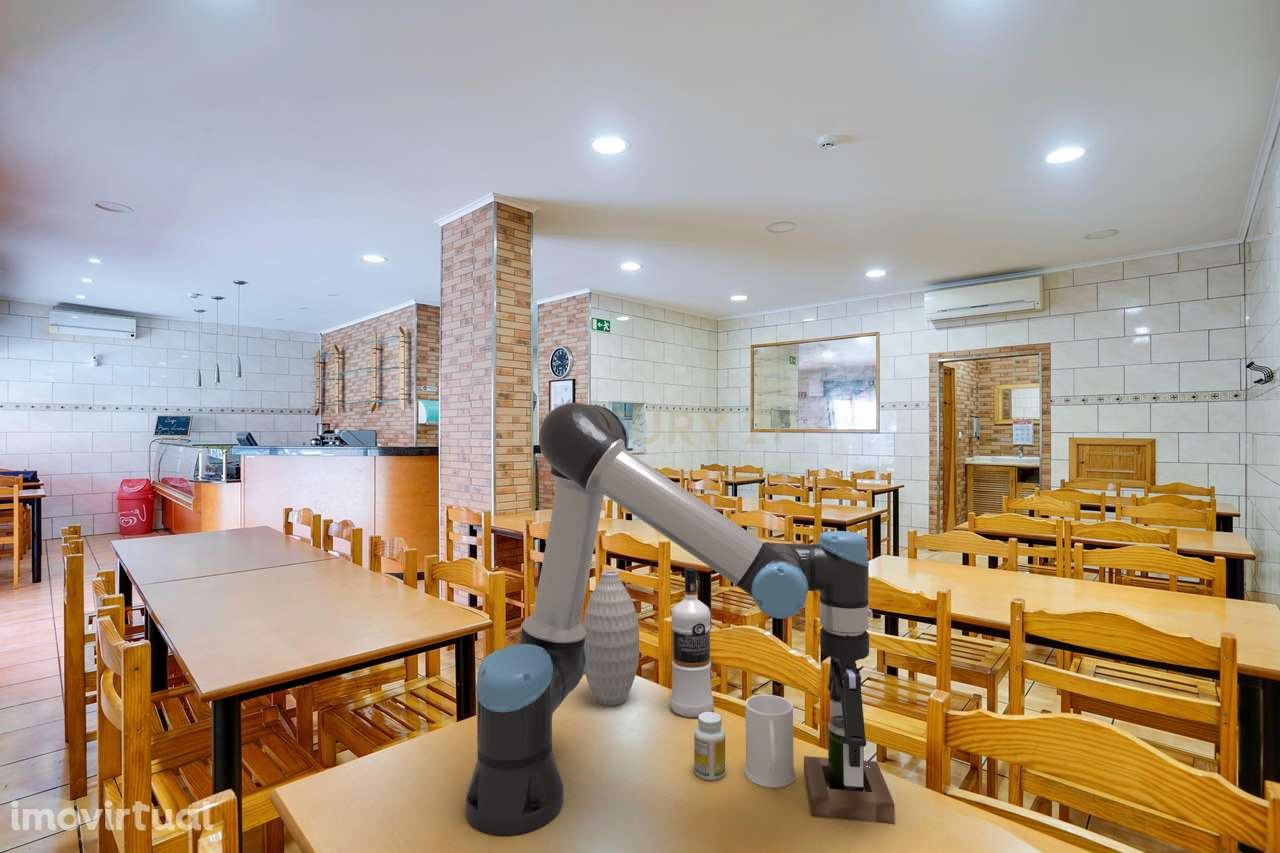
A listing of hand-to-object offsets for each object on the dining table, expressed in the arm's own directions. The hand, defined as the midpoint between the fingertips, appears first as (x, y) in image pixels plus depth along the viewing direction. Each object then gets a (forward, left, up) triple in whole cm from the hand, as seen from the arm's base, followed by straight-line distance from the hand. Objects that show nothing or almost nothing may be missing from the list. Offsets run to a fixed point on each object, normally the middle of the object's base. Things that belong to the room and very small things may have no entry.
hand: (845, 761), depth 99 cm
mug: (-12, +3, -6) cm, 14 cm away
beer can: (0, 0, -6) cm, 6 cm away
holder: (0, 0, -6) cm, 6 cm away
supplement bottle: (-22, +4, -6) cm, 23 cm away
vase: (-45, +30, -6) cm, 54 cm away
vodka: (-27, +28, -6) cm, 39 cm away
